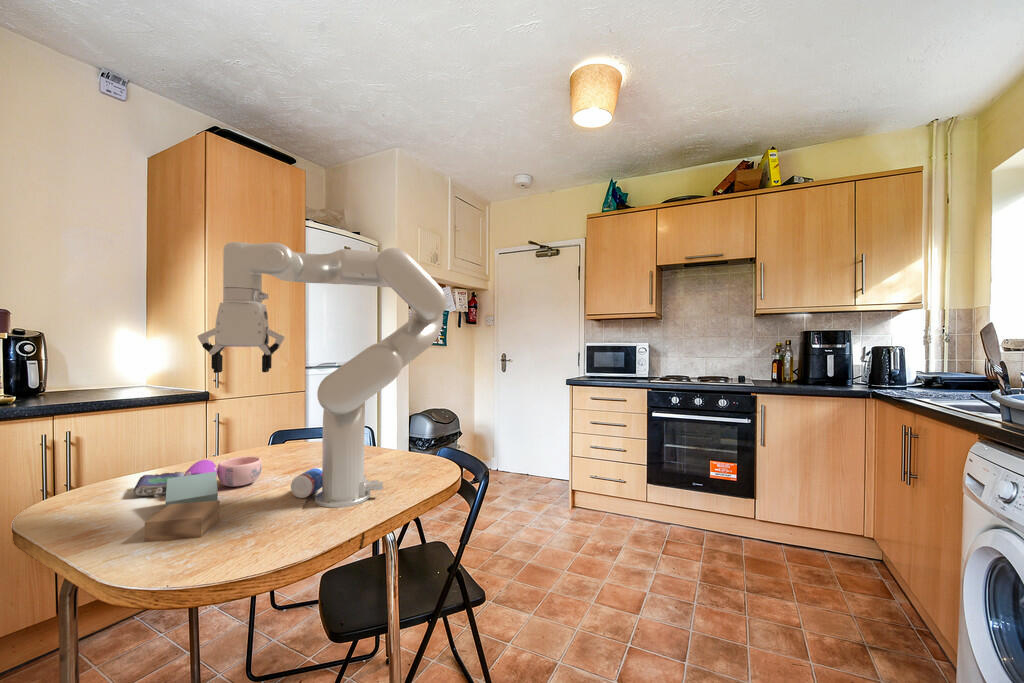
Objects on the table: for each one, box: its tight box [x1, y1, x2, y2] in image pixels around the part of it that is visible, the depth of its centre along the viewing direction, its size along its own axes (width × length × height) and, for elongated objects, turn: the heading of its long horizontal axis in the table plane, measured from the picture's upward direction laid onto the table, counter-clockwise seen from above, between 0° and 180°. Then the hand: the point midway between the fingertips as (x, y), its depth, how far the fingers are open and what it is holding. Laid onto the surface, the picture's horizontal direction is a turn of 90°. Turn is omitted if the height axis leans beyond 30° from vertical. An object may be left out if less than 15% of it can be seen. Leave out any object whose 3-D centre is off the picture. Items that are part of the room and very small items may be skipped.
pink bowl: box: [216, 456, 263, 487], centre depth 114 cm, size 12×10×6 cm
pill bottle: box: [290, 467, 322, 499], centre depth 107 cm, size 6×5×10 cm
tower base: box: [144, 500, 221, 542], centre depth 85 cm, size 9×9×4 cm
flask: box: [133, 471, 185, 498], centre depth 106 cm, size 9×3×11 cm
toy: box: [184, 459, 218, 478], centre depth 104 cm, size 7×7×15 cm
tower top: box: [164, 472, 219, 508], centre depth 96 cm, size 9×9×4 cm
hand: (242, 372), depth 99 cm, fingers open, 9 cm apart
